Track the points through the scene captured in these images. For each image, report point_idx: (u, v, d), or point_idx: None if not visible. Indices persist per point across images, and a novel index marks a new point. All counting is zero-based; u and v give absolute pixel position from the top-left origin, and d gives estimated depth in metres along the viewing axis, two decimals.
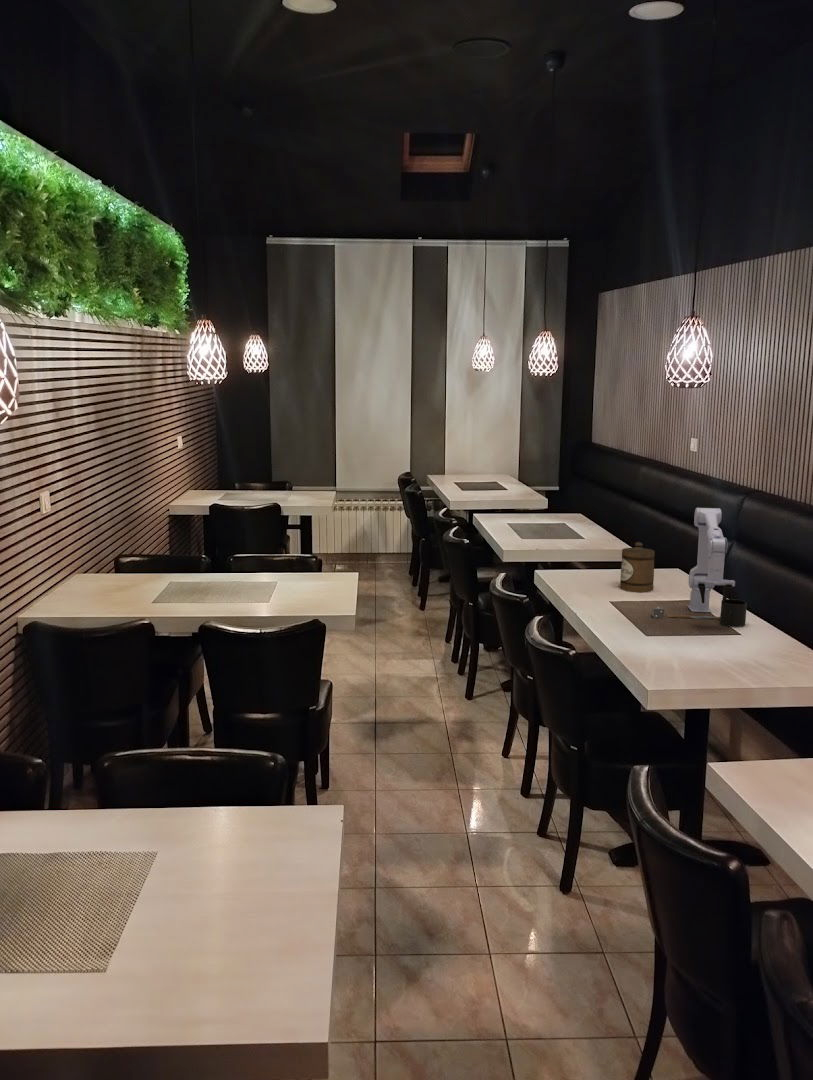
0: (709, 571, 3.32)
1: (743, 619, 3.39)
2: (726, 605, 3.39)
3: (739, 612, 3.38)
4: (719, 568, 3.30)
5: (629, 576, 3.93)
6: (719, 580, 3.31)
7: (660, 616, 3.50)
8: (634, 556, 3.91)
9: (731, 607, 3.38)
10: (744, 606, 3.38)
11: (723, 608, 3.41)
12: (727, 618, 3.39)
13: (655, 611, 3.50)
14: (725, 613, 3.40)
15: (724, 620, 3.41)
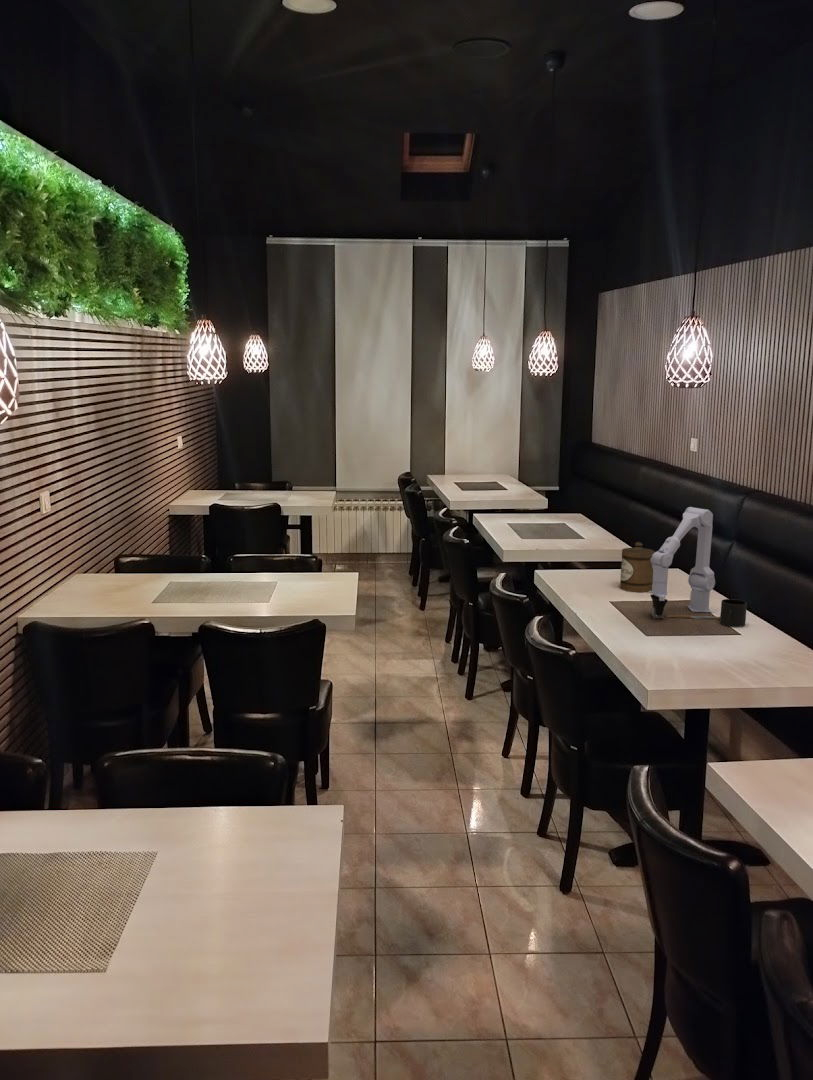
0: None
1: (743, 619, 3.39)
2: (726, 605, 3.39)
3: (739, 612, 3.38)
4: (656, 580, 3.47)
5: (629, 576, 3.93)
6: (653, 591, 3.49)
7: (660, 616, 3.50)
8: (634, 556, 3.91)
9: (731, 607, 3.38)
10: (744, 606, 3.38)
11: (723, 608, 3.41)
12: (727, 618, 3.39)
13: (655, 611, 3.50)
14: (725, 613, 3.40)
15: (724, 620, 3.41)
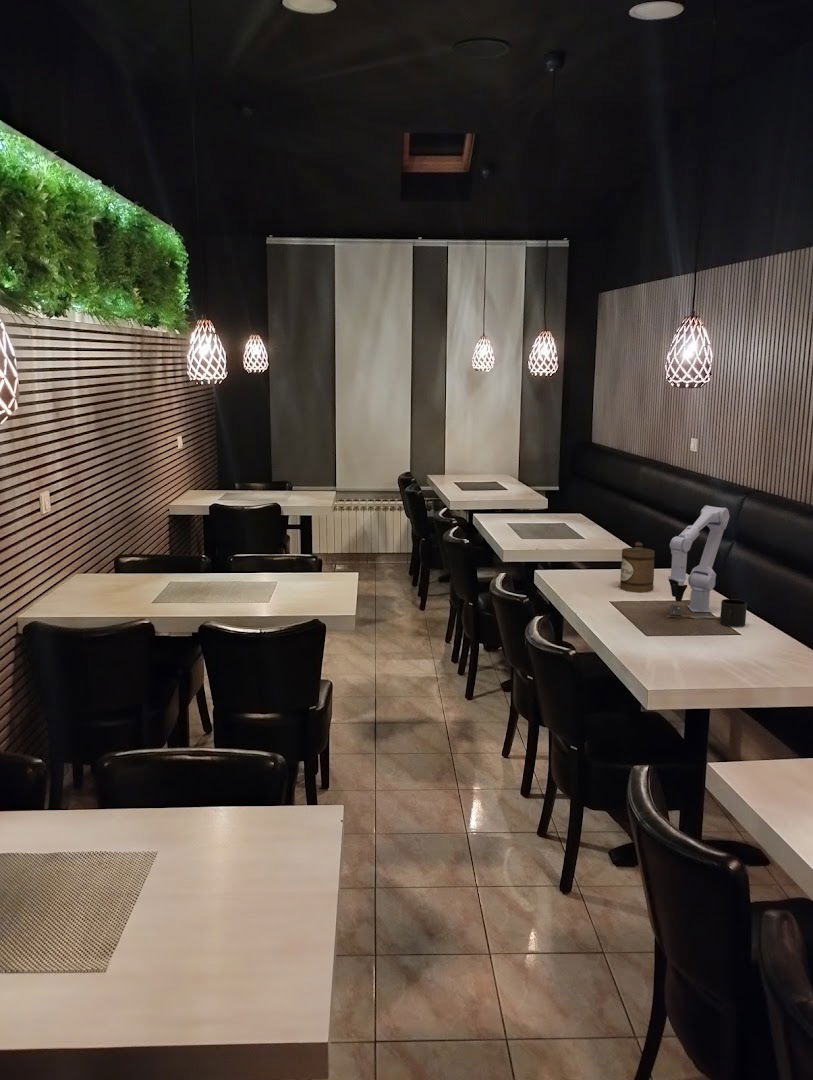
0: None
1: (743, 619, 3.39)
2: (726, 605, 3.39)
3: (739, 612, 3.38)
4: (676, 565, 3.47)
5: (629, 576, 3.93)
6: (672, 576, 3.49)
7: (678, 612, 3.51)
8: (634, 556, 3.91)
9: (731, 607, 3.38)
10: (744, 606, 3.38)
11: (723, 608, 3.41)
12: (727, 618, 3.39)
13: (673, 607, 3.52)
14: (725, 613, 3.40)
15: (724, 620, 3.41)
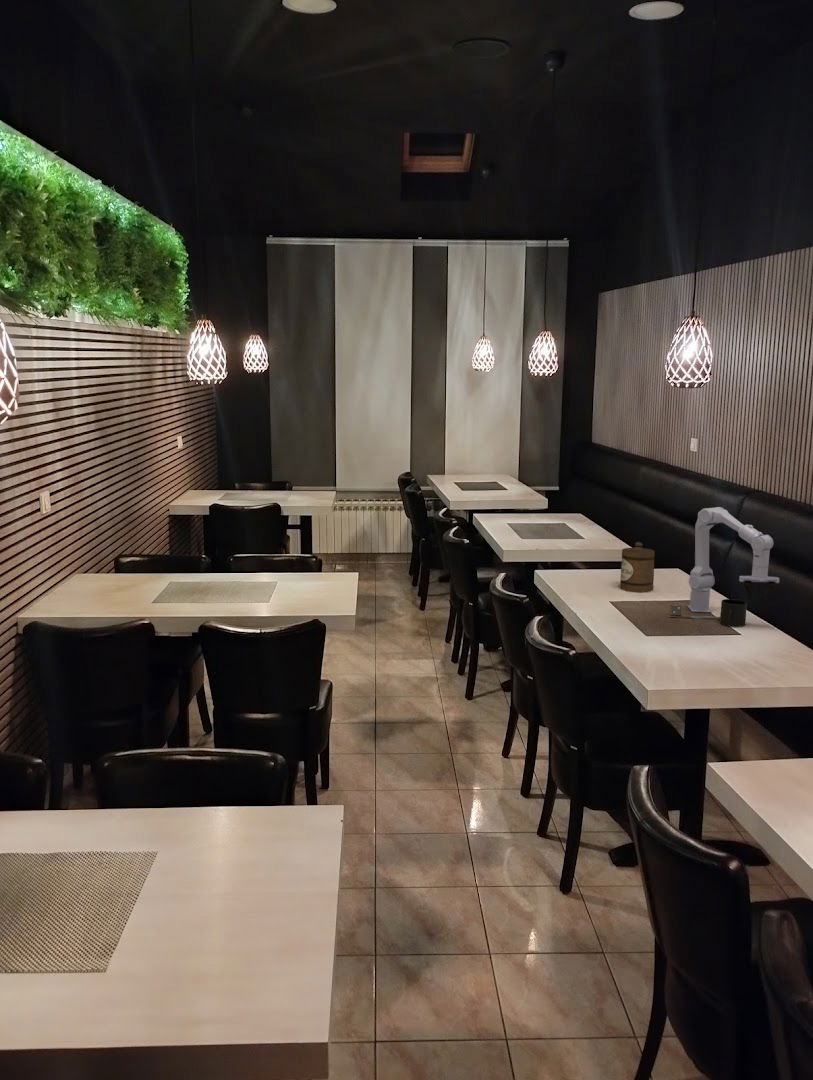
0: (754, 568, 3.36)
1: (743, 619, 3.39)
2: (726, 605, 3.39)
3: (739, 612, 3.38)
4: None
5: (629, 576, 3.93)
6: (764, 577, 3.35)
7: (678, 612, 3.51)
8: (634, 556, 3.91)
9: (731, 607, 3.38)
10: (744, 606, 3.38)
11: (723, 608, 3.41)
12: (727, 618, 3.39)
13: (673, 607, 3.52)
14: (725, 613, 3.40)
15: (724, 620, 3.41)
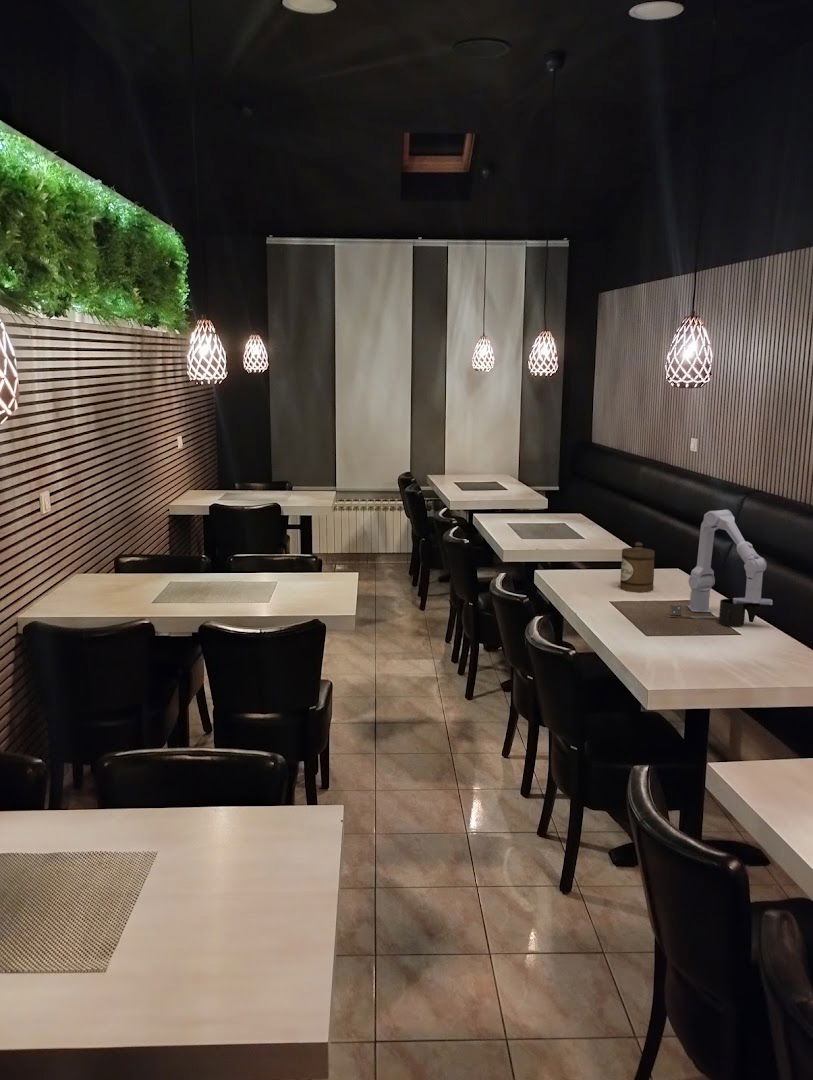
0: (747, 590, 3.38)
1: (742, 619, 3.39)
2: (725, 605, 3.39)
3: (737, 612, 3.38)
4: (761, 587, 3.36)
5: (629, 576, 3.93)
6: (757, 599, 3.37)
7: (678, 612, 3.51)
8: (634, 556, 3.91)
9: (730, 607, 3.38)
10: (743, 606, 3.38)
11: (722, 608, 3.41)
12: (726, 618, 3.40)
13: (673, 607, 3.52)
14: (724, 613, 3.40)
15: (723, 620, 3.41)
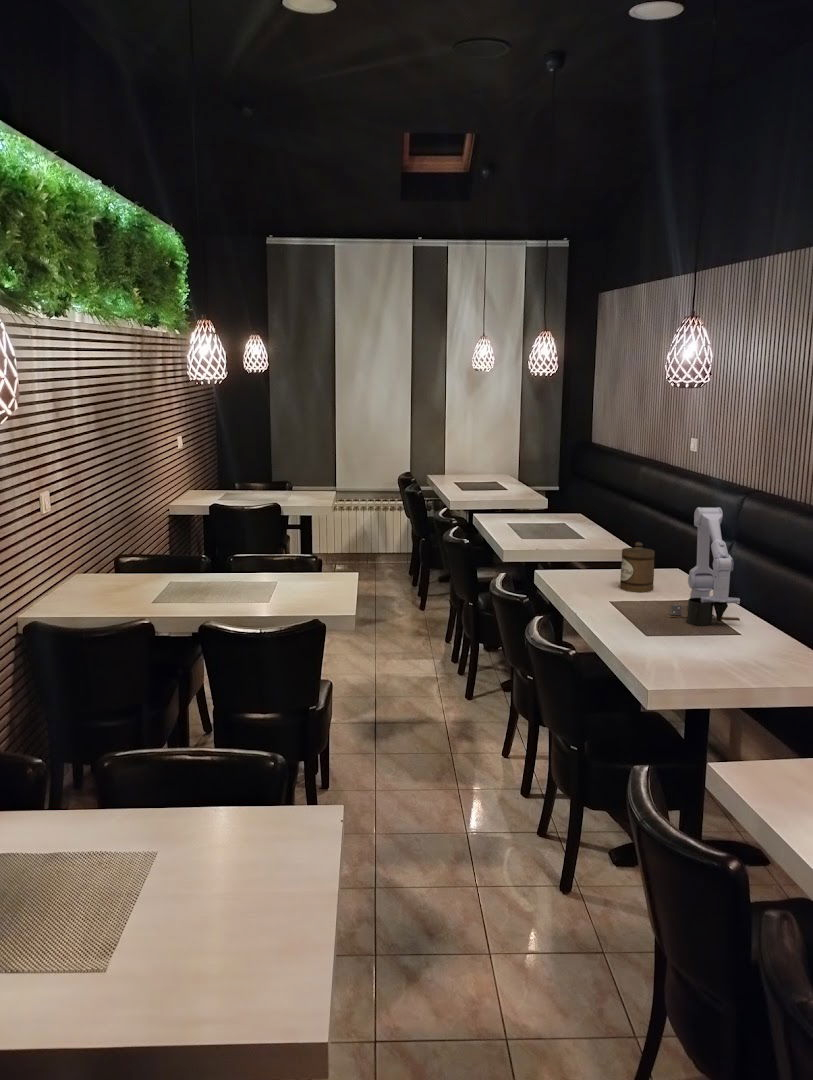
0: (715, 589, 3.39)
1: (709, 618, 3.40)
2: (692, 604, 3.41)
3: (705, 611, 3.39)
4: (726, 586, 3.37)
5: (629, 576, 3.93)
6: (725, 598, 3.38)
7: (678, 612, 3.51)
8: (634, 556, 3.91)
9: (697, 606, 3.39)
10: (710, 605, 3.39)
11: (689, 607, 3.42)
12: (693, 617, 3.41)
13: (673, 607, 3.52)
14: (691, 612, 3.42)
15: (690, 619, 3.42)
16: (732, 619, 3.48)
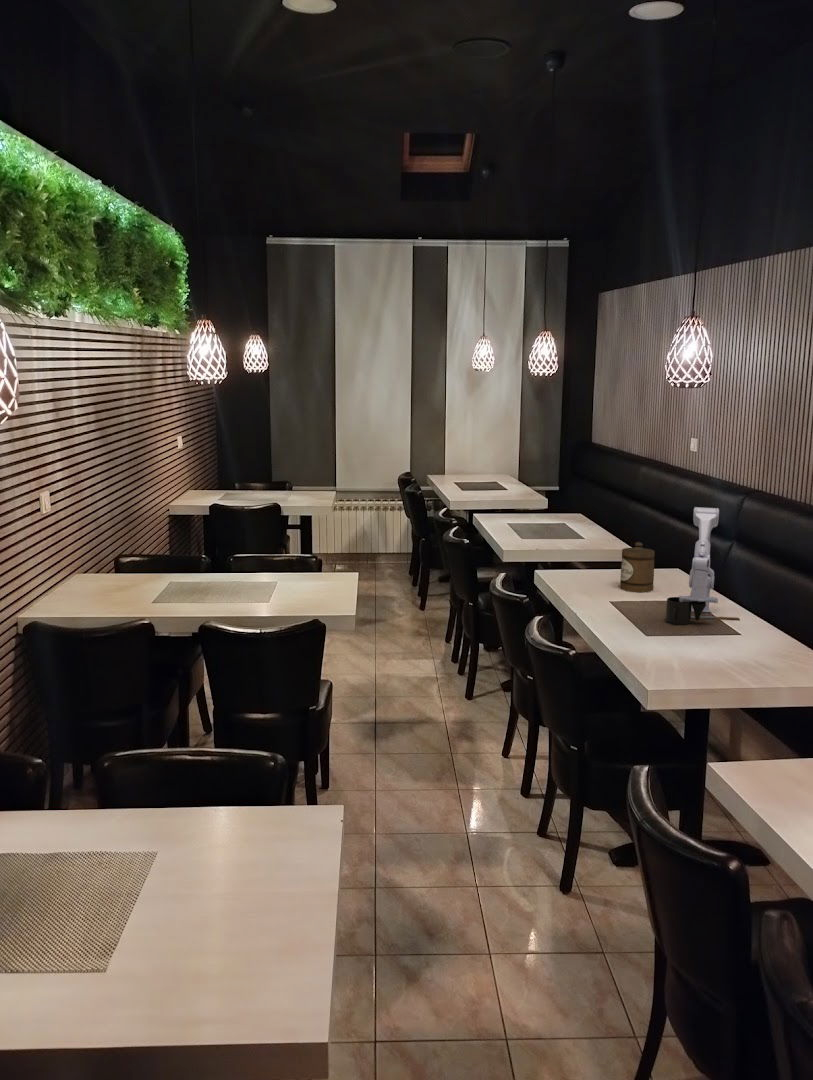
0: (693, 589, 3.40)
1: (688, 617, 3.41)
2: (671, 603, 3.42)
3: (683, 610, 3.40)
4: (701, 586, 3.38)
5: (629, 576, 3.93)
6: (703, 597, 3.39)
7: None
8: (634, 556, 3.91)
9: (675, 605, 3.40)
10: (688, 604, 3.40)
11: (668, 606, 3.43)
12: (672, 616, 3.42)
13: None
14: (670, 611, 3.42)
15: (669, 618, 3.43)
16: (732, 619, 3.48)
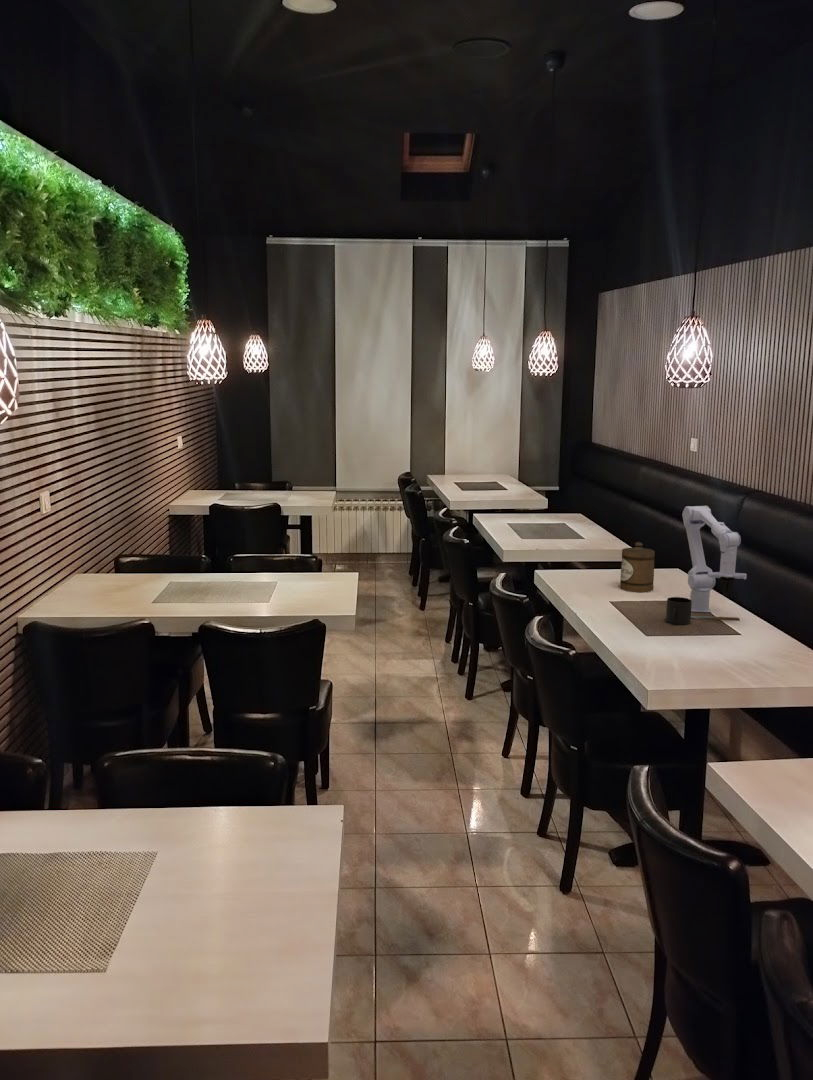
0: (722, 565, 3.42)
1: (688, 617, 3.41)
2: (671, 603, 3.42)
3: (683, 610, 3.40)
4: (734, 561, 3.40)
5: (629, 576, 3.93)
6: (732, 573, 3.41)
7: None
8: (634, 556, 3.91)
9: (675, 605, 3.40)
10: (688, 604, 3.40)
11: (668, 606, 3.43)
12: (672, 616, 3.42)
13: None
14: (670, 611, 3.42)
15: (669, 618, 3.43)
16: (732, 619, 3.48)
